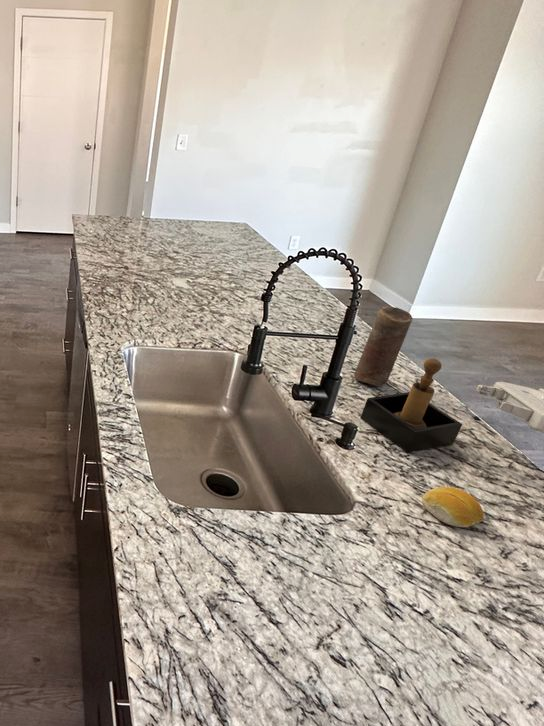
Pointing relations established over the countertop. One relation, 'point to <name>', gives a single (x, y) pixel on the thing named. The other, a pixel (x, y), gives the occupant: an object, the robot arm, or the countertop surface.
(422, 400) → the mortar and pestle
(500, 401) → the robot arm
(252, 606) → the countertop surface
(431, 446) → the black open square box
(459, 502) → the bread roll
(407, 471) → the countertop surface
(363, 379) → the candle
